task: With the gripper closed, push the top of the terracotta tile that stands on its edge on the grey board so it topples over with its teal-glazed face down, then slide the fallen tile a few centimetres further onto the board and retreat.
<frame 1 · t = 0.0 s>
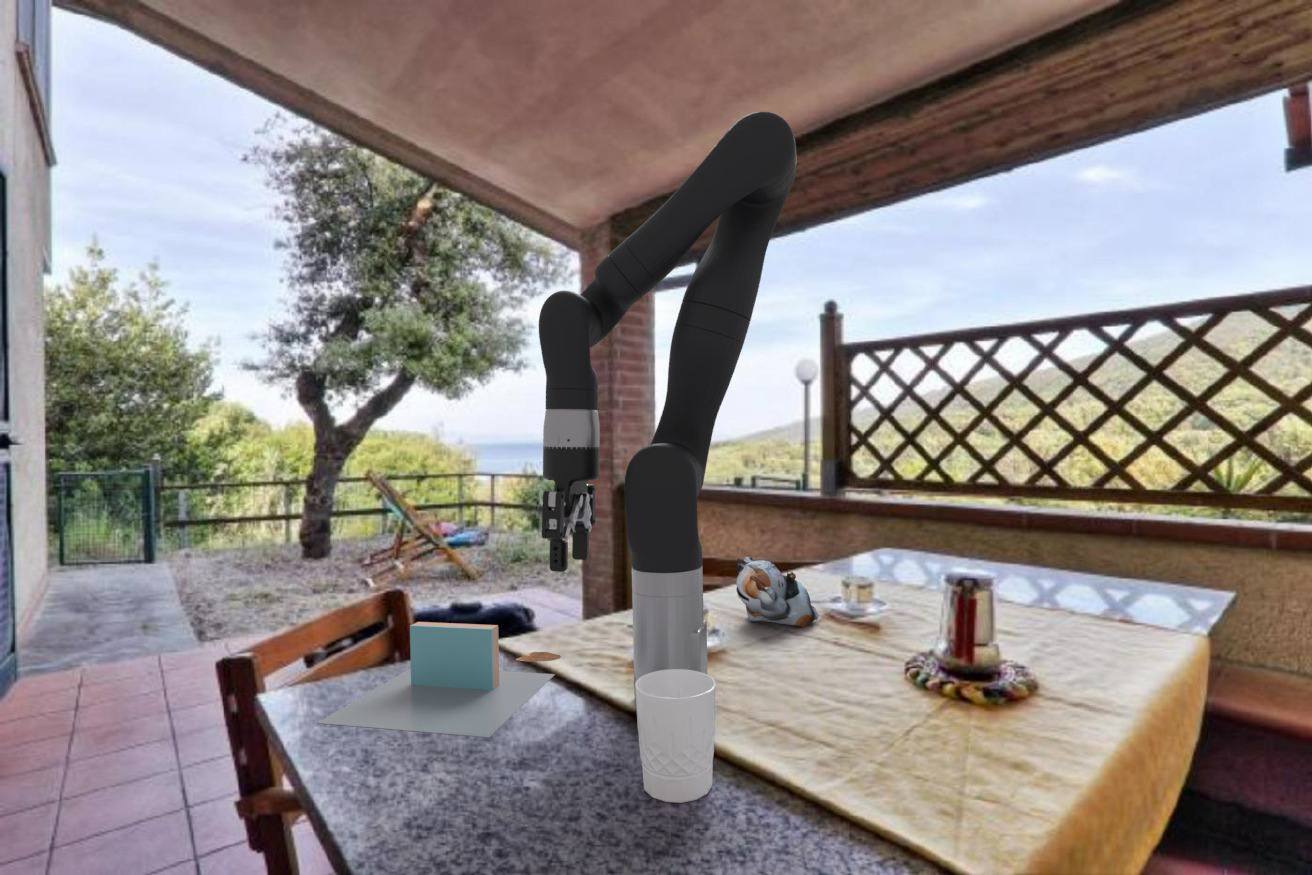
hand: (570, 564, 90), 17 cm above the table, tool pointing down, fingers open, 8 cm apart
board: (446, 705, 86), on the table
shard: (555, 667, 102), on the table
white cup: (677, 787, 65), on the table
tile: (455, 684, 90), point 1 cm above the table, touching board
lucky cat figurine: (776, 622, 122), on the table
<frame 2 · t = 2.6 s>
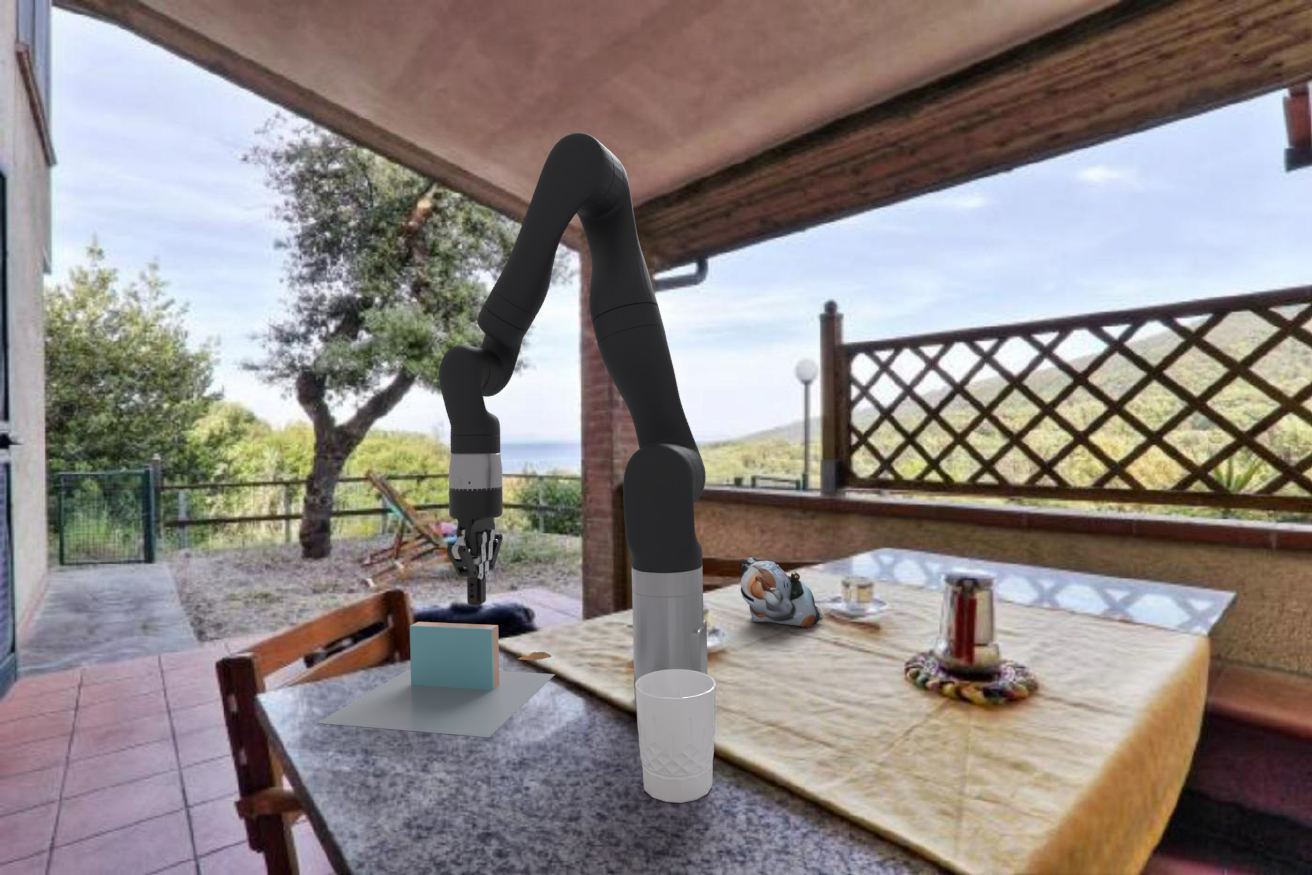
hand: (476, 603, 97), 10 cm above the table, tool pointing down, fingers closed
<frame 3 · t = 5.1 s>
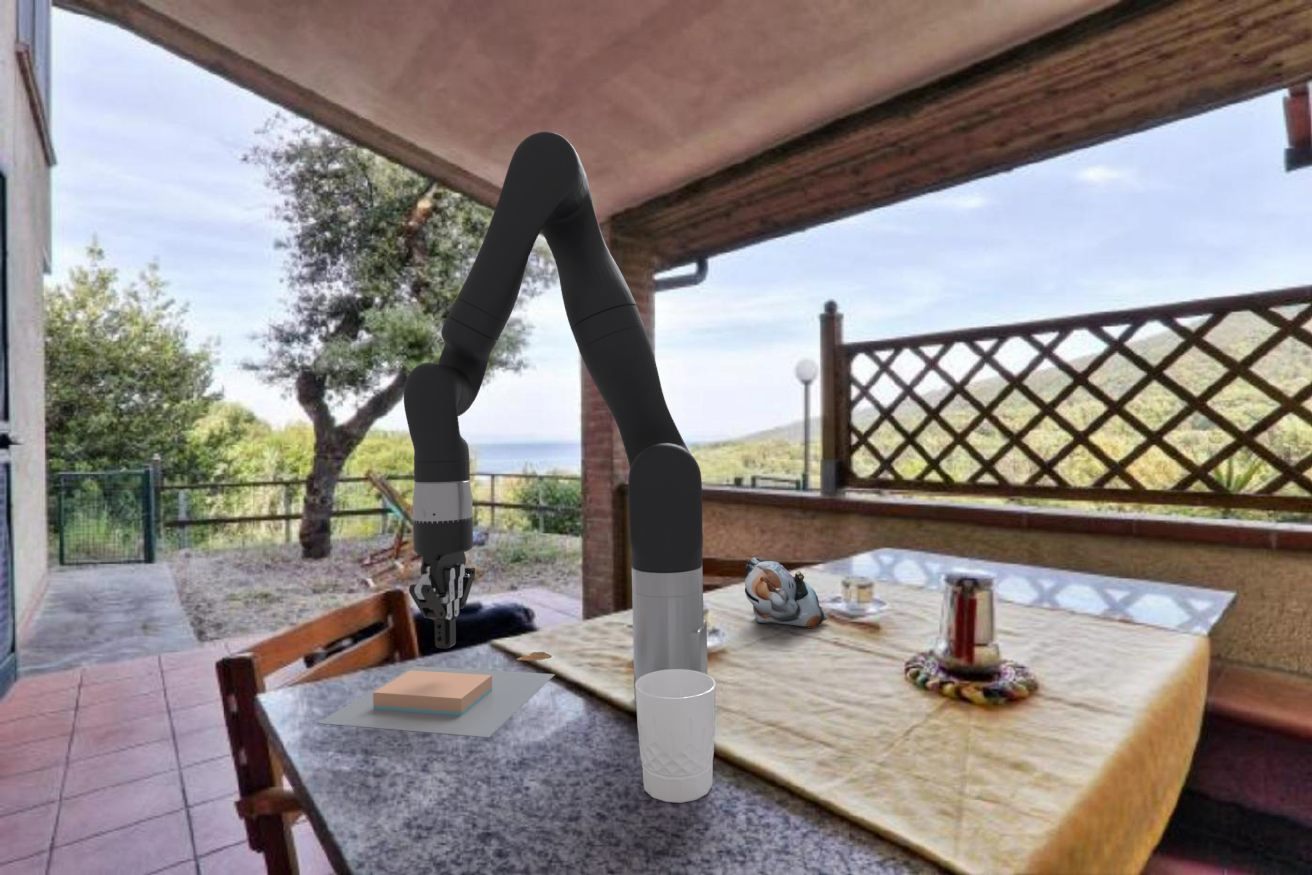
hand: (445, 646, 88), 7 cm above the table, tool pointing down, fingers closed
tile: (450, 680, 89), point 2 cm above the table, tilted 90°, touching board
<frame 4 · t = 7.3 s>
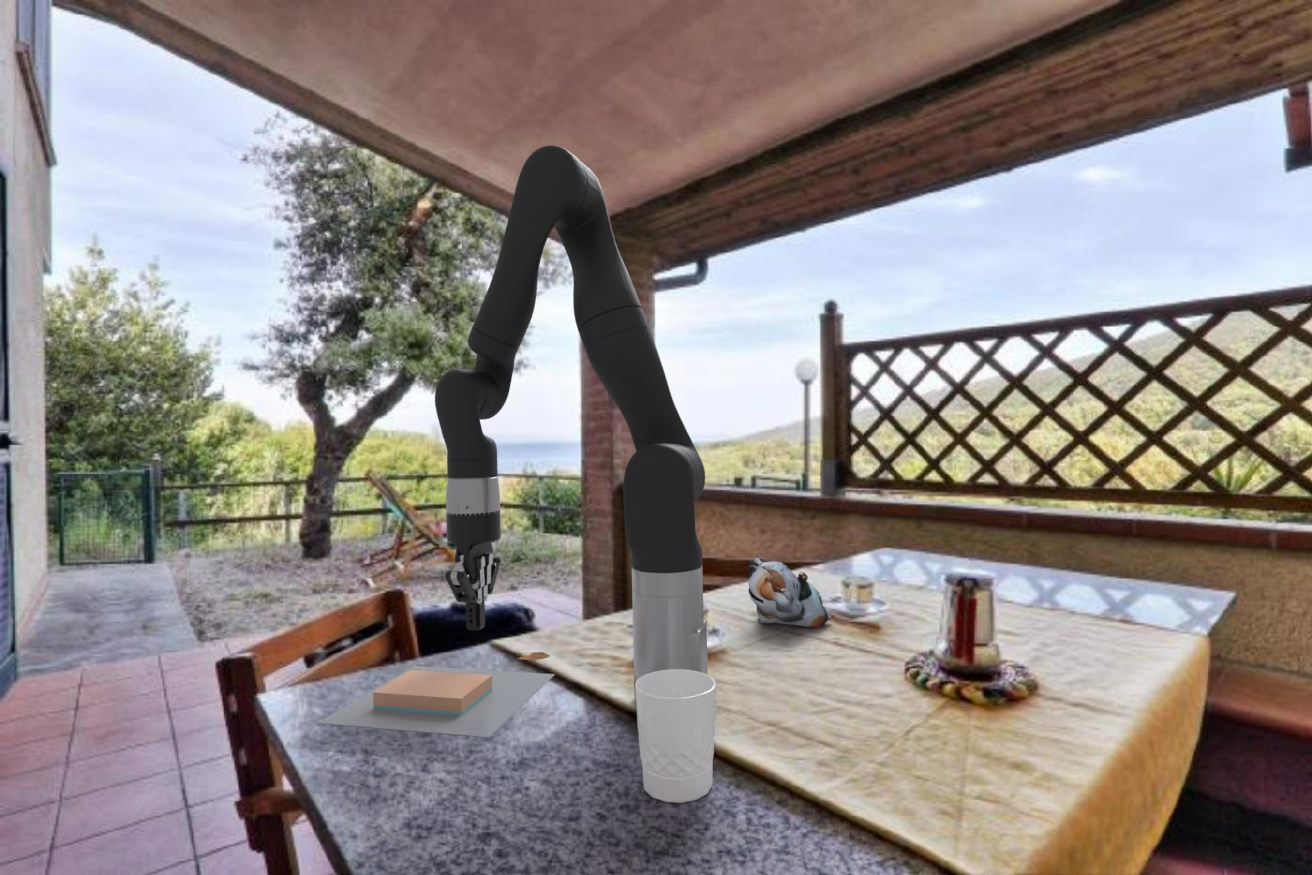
hand: (475, 628, 96), 7 cm above the table, tool pointing down, fingers closed
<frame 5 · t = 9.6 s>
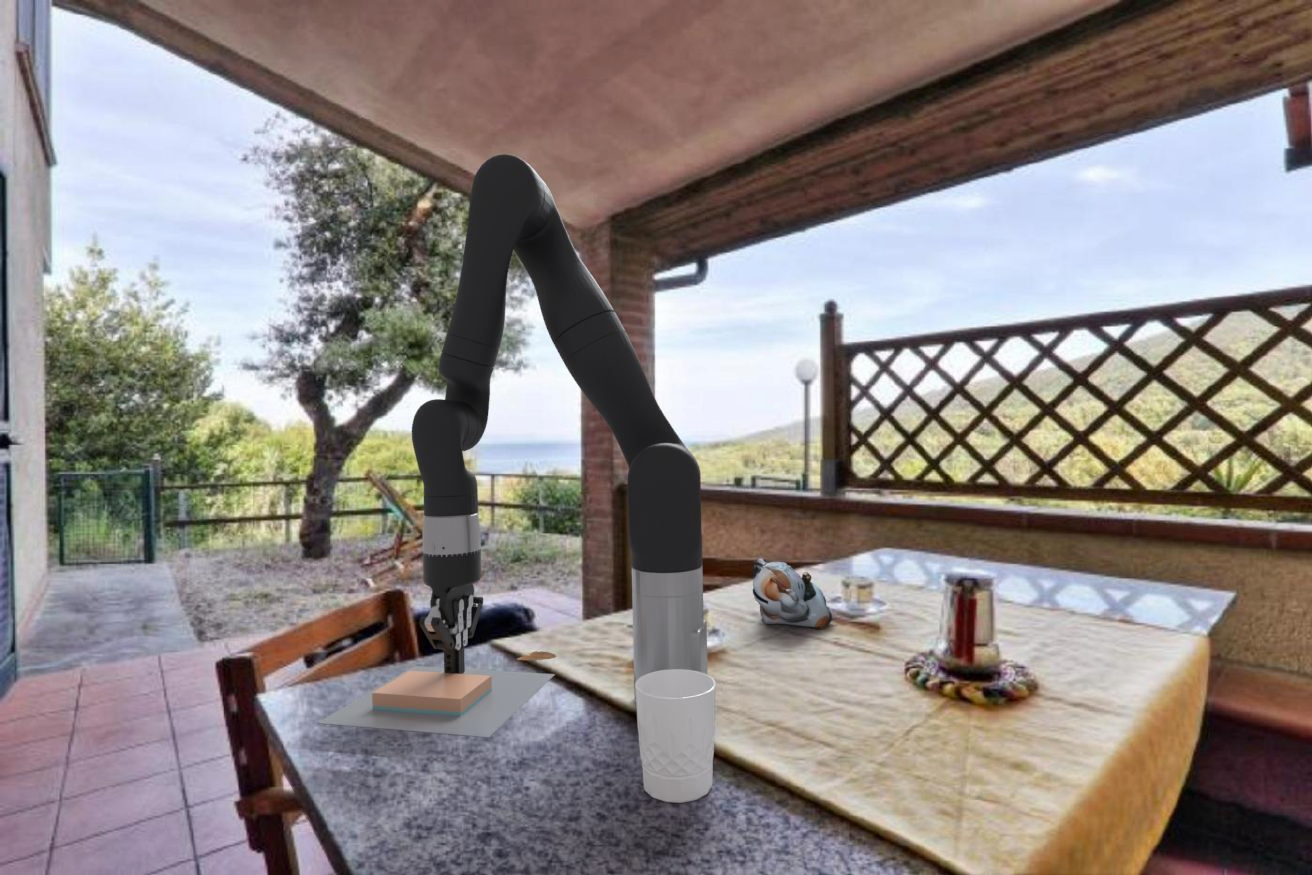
hand: (454, 675, 90), 2 cm above the table, tool pointing down, fingers closed
tile: (450, 680, 89), point 2 cm above the table, tilted 90°, touching board, gripper
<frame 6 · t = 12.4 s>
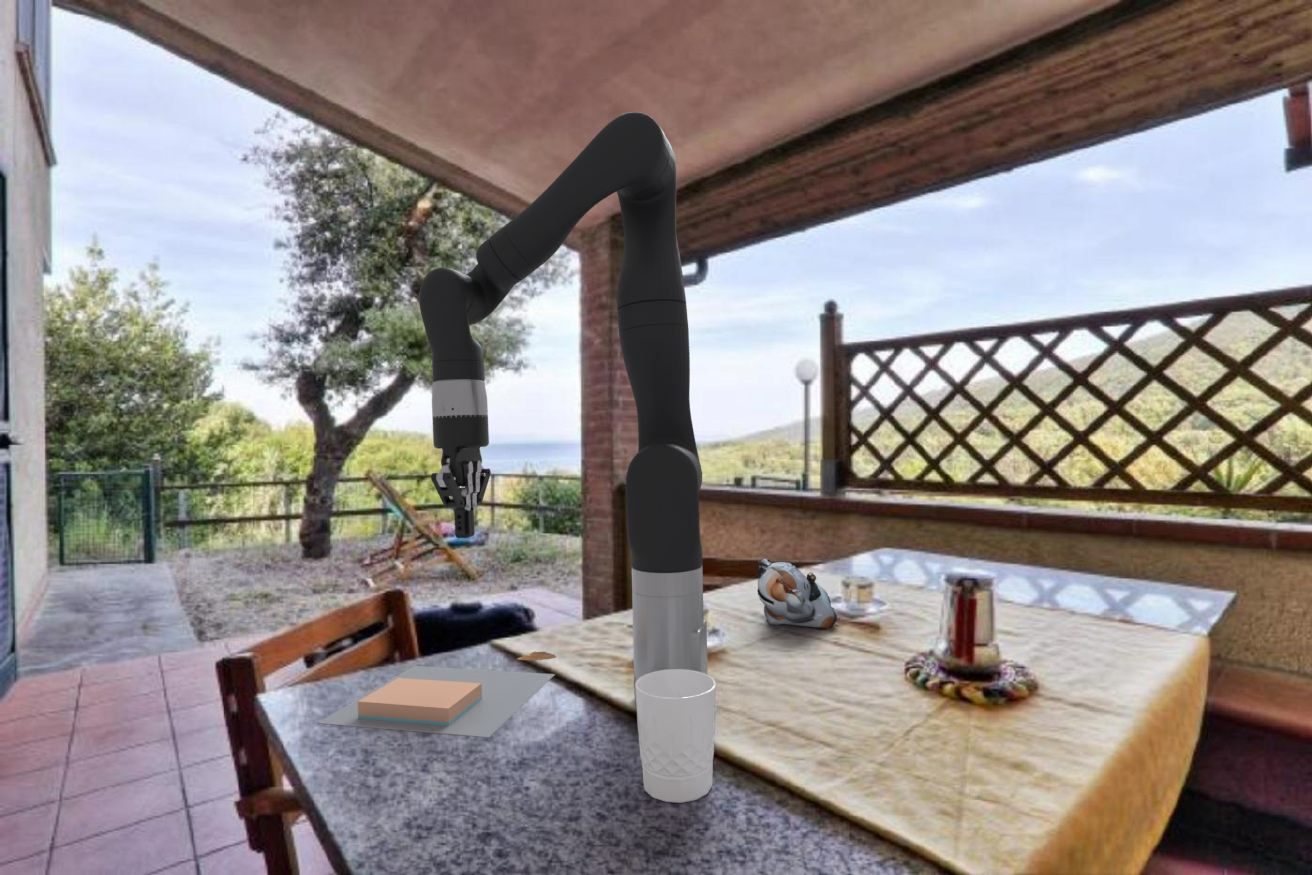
hand: (465, 537, 94), 21 cm above the table, tool pointing down, fingers closed
tile: (439, 688, 86), point 2 cm above the table, tilted 90°, touching board
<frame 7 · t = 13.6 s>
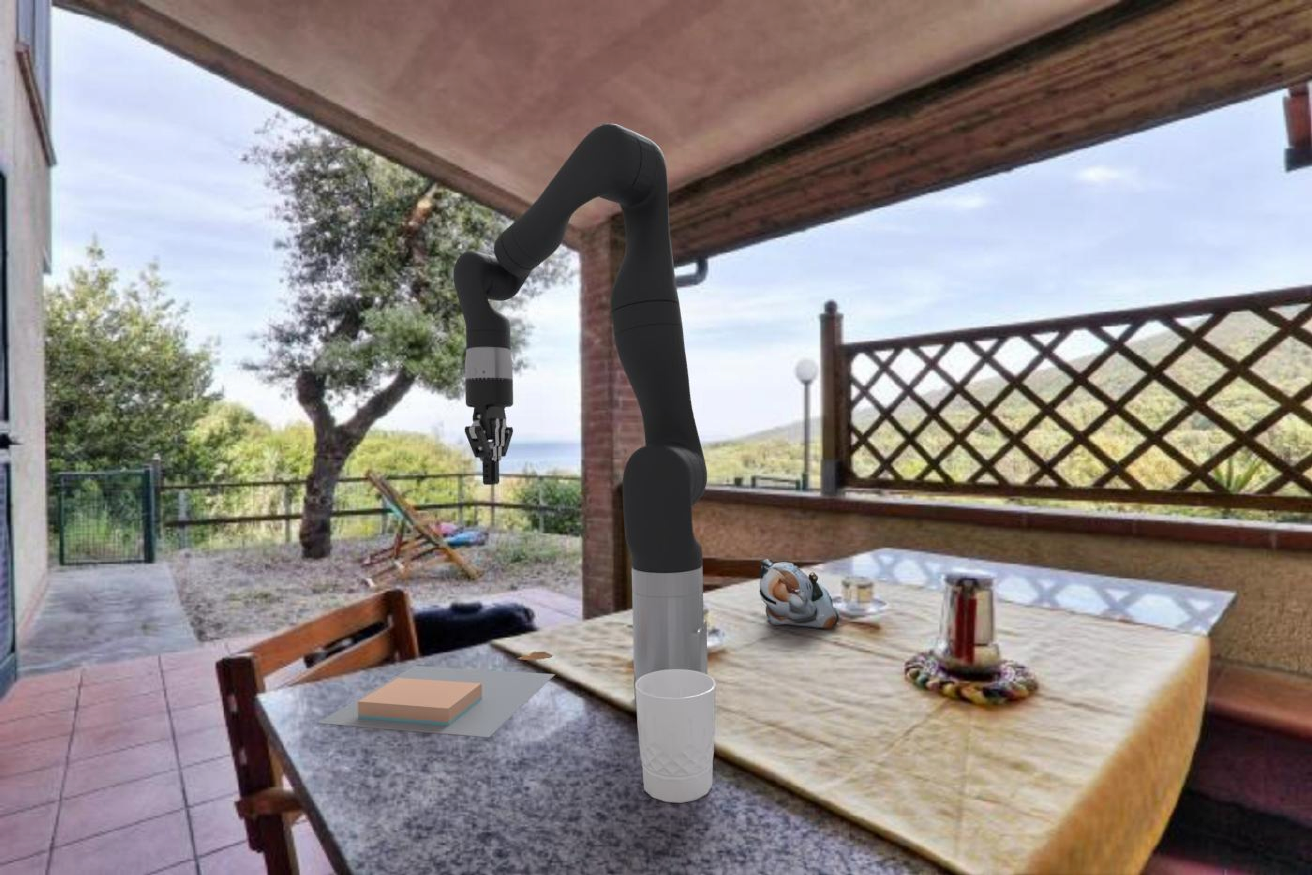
hand: (491, 484, 108), 27 cm above the table, tool pointing down, fingers closed
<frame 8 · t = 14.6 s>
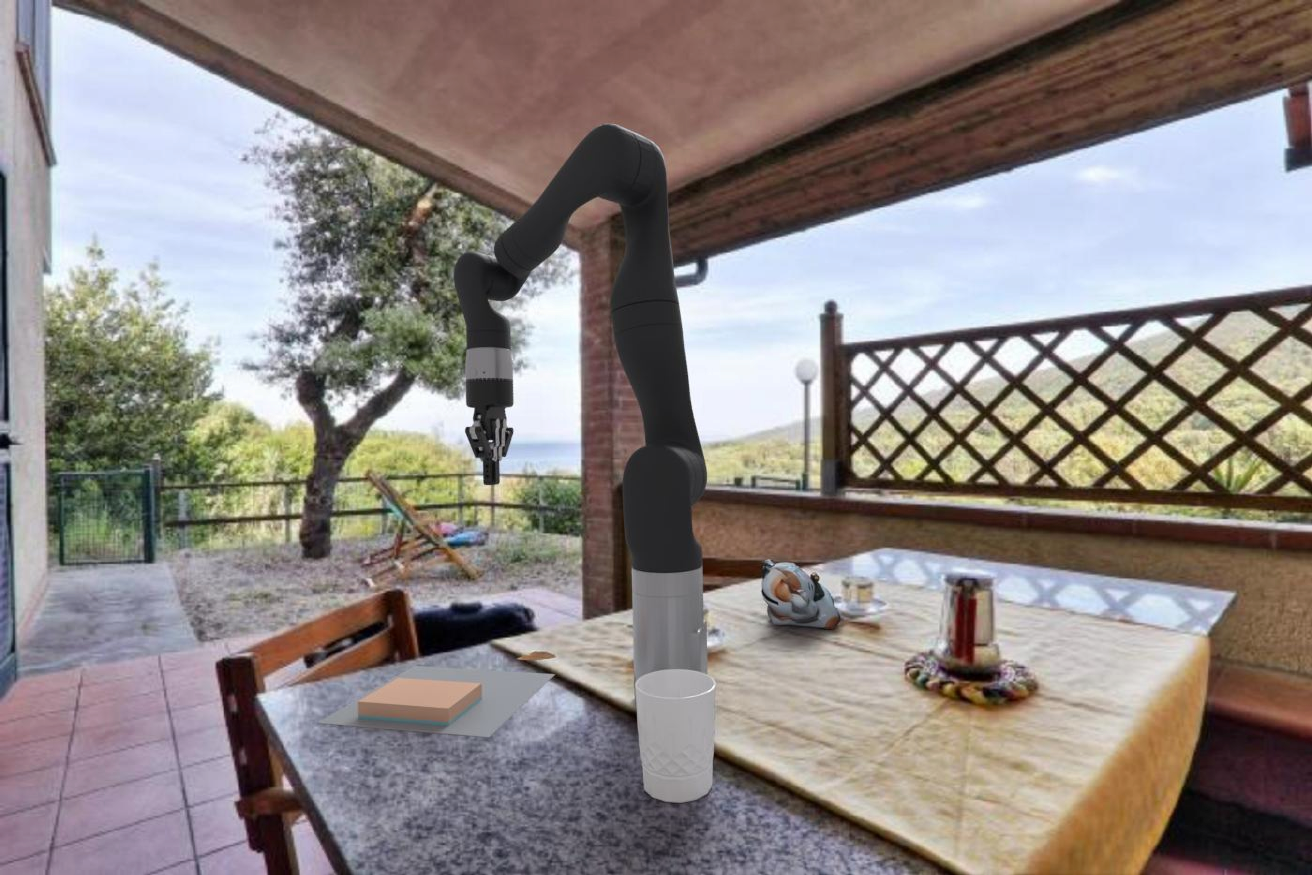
hand: (491, 484, 108), 27 cm above the table, tool pointing down, fingers closed
at the end: tile tilted 90°; tile inside the target area (1.6 cm from its centre), point 2.2 cm above the table; tile touching board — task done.
